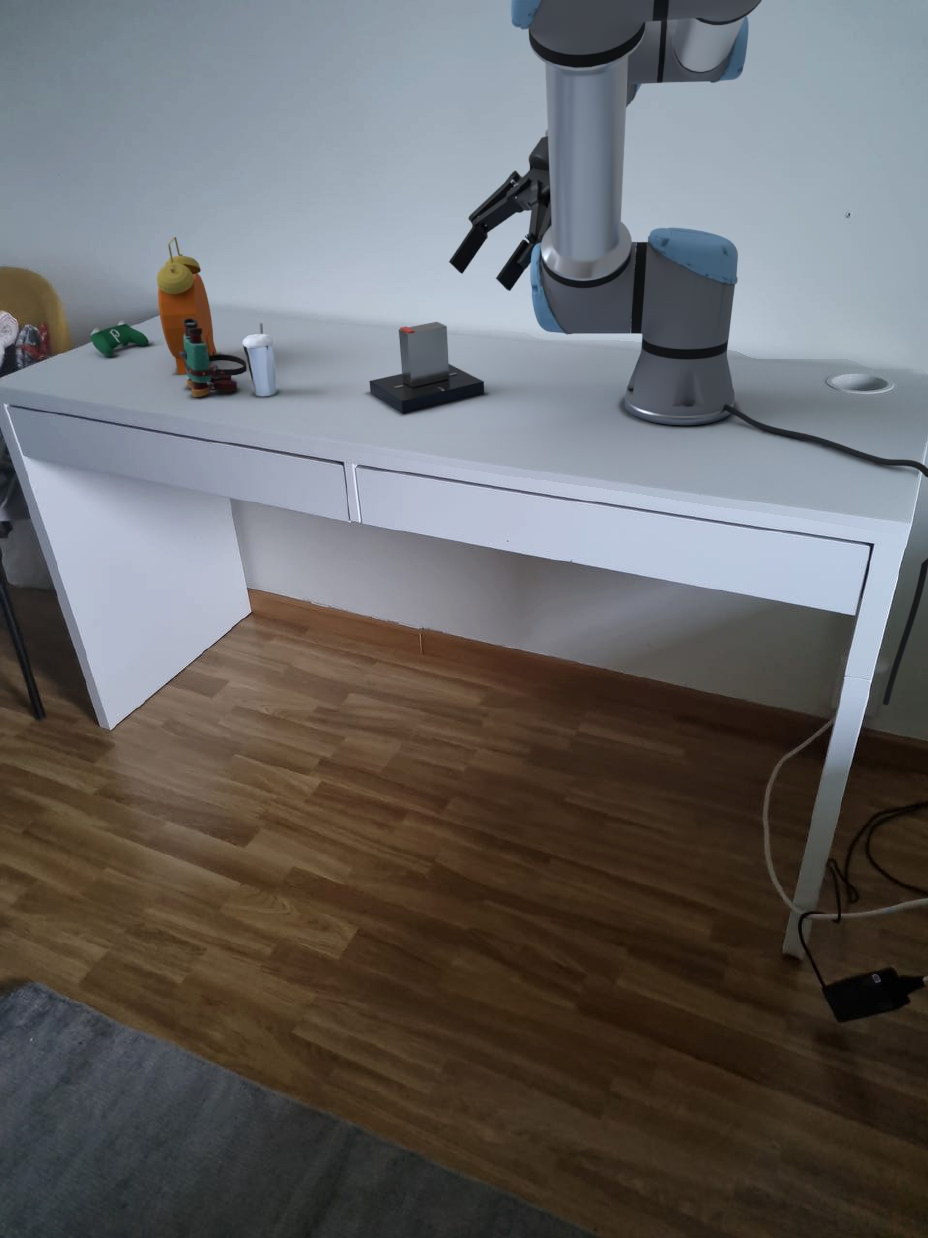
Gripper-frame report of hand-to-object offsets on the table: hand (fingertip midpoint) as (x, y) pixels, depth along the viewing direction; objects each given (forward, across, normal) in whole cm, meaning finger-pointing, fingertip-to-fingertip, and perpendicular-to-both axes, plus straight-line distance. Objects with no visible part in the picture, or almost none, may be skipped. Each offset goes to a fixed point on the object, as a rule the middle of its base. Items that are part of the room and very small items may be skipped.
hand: (478, 276), depth 132 cm
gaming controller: (+43, +54, +20) cm, 72 cm away
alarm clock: (+36, +37, +14) cm, 53 cm away
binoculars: (+37, +22, +14) cm, 45 cm away
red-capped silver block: (+17, 0, -3) cm, 17 cm away
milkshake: (+33, +16, +10) cm, 37 cm away
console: (+18, 0, -4) cm, 19 cm away
